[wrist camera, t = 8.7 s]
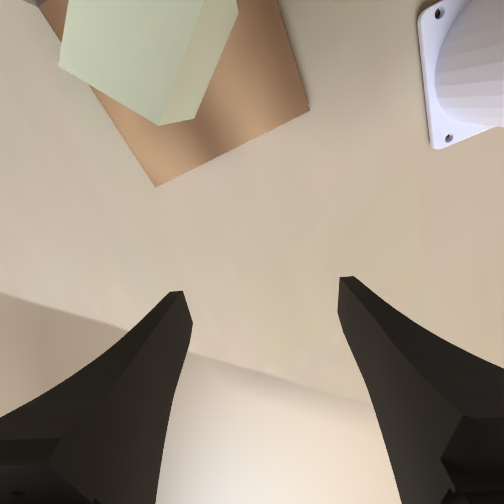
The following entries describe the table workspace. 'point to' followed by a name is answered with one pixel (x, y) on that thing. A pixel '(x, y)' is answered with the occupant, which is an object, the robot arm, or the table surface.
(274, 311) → the table surface
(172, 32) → the product carton
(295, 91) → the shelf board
